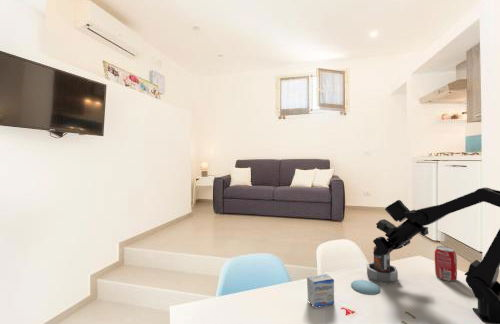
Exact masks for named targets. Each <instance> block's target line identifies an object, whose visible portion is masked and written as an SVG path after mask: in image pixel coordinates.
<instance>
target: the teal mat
mask: <svg viewBox="0 0 500 324" xmlns="http://www.w3.org/2000/svg"><path fill="white" fill-rule="evenodd" d="M350 286H351V288H352V289H353V291H355V292H358V293H361V294H363V295H377V294H379V293H380V291H381V287H380V286H379V285H378V284H376V282H375V283H374V282H372V281H370V280H369V281H368V280H363V279H357V280H353V281H352V282H351V284H350Z"/></svg>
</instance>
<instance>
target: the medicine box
mask: <svg viewBox="0 0 500 324" xmlns="http://www.w3.org/2000/svg"><path fill="white" fill-rule="evenodd" d="M306 280H307V281H306V284H307V285H306V286H307V289H306V290H307V302H308V301H309V302H310V303H311V304H312V305H313V306H314V307H318V308H320V307H319V306H323V307H326V305H327V306H331V304H332V305H335V281H334V278H333V277H331V276H330V275H328V274H321V275H320V274H319V275H314V276H308V277H306ZM309 302H308V303H309ZM310 303H309V304H310ZM311 304H310V305H311ZM312 305H311V306H312ZM313 306H312V307H313ZM314 307H313V308H314Z"/></svg>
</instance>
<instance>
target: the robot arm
mask: <svg viewBox="0 0 500 324" xmlns="http://www.w3.org/2000/svg"><path fill="white" fill-rule="evenodd" d="M481 203H486V204H487V203H488V204H490V205H492V206H495V207H498V208H500V190H497V189H493V188H490V187H481V188H480V187H479V188H477V189H476V190H475V191H472V192H469V193H466V194H464V195H462V196H459V197H456V198H455V199H451V200H449V201H446V202H444V203H441V204H437V205H431V206H426V207H423V208H419V209H412V210H410V209H409V208H408V207H407V206H406V205H405V204H404V202H403V201H402V200H401V199H398V200H396V201H394V202H392V203H391V204H389V205H387V206H386V207H385V208H384V210H385V211H386V213H387V214H388V215H389V217H391V218H392V219H393V221H395V222H399V223H401V224H399V225H398V226H396V225H395V224H393V223H392V222H390V221H388V220H386V219H380V220H379V221H377V223H376V224H375V225H376V228H377V229H378V230H379V231H381V232H383V233H385V234H384V236H377V237H376V238H375V239H373V240H372V242H373V244H374V245H375V246H377V247H376V249H375V251H374V250H373V252H372V254H373V256H374V255H382V254H384V255H386V254H389V253H390V254H391V252H393V251H395V250H399V249H402V248H403V247H406V246H409V245H410V244H411V240H412V239H413V238H414V237H415V236H417V235H418V234H421V235H422V236H427V235H429V227H428V225H432V224H434V223H436V222H438V221H439V220H441V219H444V217H446V216H447V215H450V214H453V213H455V212H457V211H461V210H463V209H467V208H469V207H472V206H475V205H477V204H481ZM385 236H386V238H385ZM499 272H500V228H499V229H498V231H497V233H496V235H495V237H494V238H493V240H492V242H491V244H490V245H489V247H488V249H487V250H486V253H485V254H484V256H483V258H482V260H481V261H479V260H478V259H476V260H474V261H473V262H471V263H469V266H468V270H467V271H466V272H465V273H464V276H466V277H465V282H466V284H467V286H468V287H469V288H470V289H471V290H472V292H473V295H474V298H475V299H477V300H476V301H477V307H472V310H473V312H474V313H475V315H476V316H478V318H479V319H480V320H481V321H482V322H484V323H491V324H500V282H499V281H498V277H499Z"/></svg>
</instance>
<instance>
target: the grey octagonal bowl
mask: <svg viewBox="0 0 500 324" xmlns="http://www.w3.org/2000/svg"><path fill="white" fill-rule="evenodd" d="M366 276H367V279H369V280H372V281H373V282H375V283H379V284H387V285H391V284H395V283H398V282H399V279H398V277H399V273H398V269H397V267H396V266H394V265H391V264H390V271H388V272H380V271H378V270H376V269H375V268H374V261H372V262H368V263H366Z"/></svg>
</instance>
